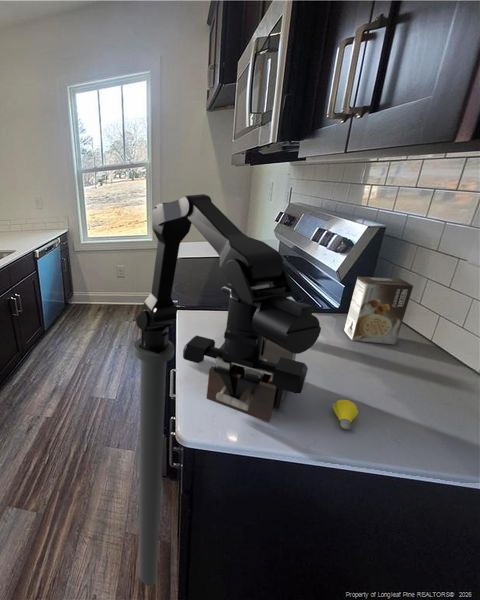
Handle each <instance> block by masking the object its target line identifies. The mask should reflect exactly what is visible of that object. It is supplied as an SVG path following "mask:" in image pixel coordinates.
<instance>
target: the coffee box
mask: <svg viewBox="0 0 480 600" xmlns="http://www.w3.org/2000/svg"><path fill="white" fill-rule="evenodd" d="M413 289H414V285H413V284H412V283H409V282H408V281H406V280H404V279H402V278H401V277H400V278H396V277H373V276H357V277H356V281H355V285H354V289H353V293H352V297H351V301H350V306H349V310H348V314H347V318H346V322H345V325H344V329H343V331H344V332H345V333H346V335H347V336H348V337H349V338H350V339H351V341H357V342H364V343H366V342H367V343H374V344H384V345H385V344H387V345H396V343H397V340H398V336H399V333H400V331H401V328H402V323H403V321H404V318H405V314H406V311H407V308H408V305H409V301H410V299H411V295H412V292H413Z"/></svg>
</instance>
